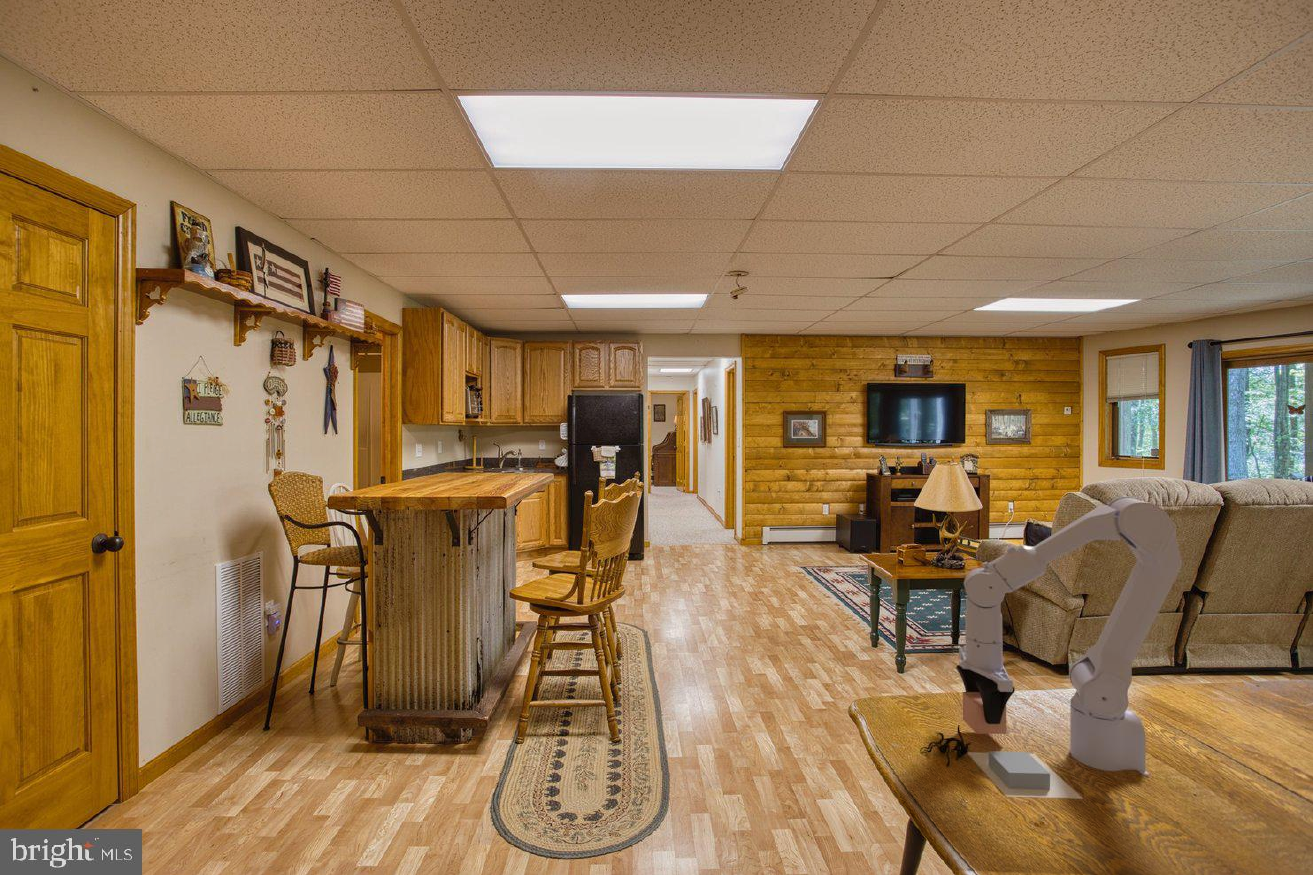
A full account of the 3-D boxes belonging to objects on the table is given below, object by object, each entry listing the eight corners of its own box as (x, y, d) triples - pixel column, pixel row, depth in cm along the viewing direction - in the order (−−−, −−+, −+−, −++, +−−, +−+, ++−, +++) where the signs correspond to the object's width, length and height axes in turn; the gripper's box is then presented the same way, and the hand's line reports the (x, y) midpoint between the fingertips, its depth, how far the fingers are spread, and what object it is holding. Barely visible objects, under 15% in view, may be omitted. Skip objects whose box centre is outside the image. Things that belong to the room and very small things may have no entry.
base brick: (1026, 766, 94) (1026, 751, 94) (1050, 789, 88) (1050, 773, 88) (988, 766, 94) (988, 751, 94) (1009, 788, 88) (1009, 772, 88)
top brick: (991, 719, 106) (990, 692, 106) (1006, 733, 101) (1006, 704, 101) (962, 719, 106) (962, 691, 106) (976, 733, 101) (976, 704, 101)
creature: (927, 778, 95) (980, 772, 93) (919, 744, 95) (972, 738, 93) (915, 752, 102) (964, 746, 101) (908, 721, 103) (956, 715, 101)
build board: (1034, 758, 98) (1034, 753, 98) (1083, 803, 86) (1083, 798, 86) (966, 757, 98) (966, 752, 98) (1006, 801, 87) (1006, 796, 87)
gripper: (942, 624, 111) (943, 696, 111) (981, 653, 97) (982, 735, 97) (980, 625, 111) (981, 696, 111) (1025, 653, 96) (1026, 736, 96)
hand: (984, 715), depth 104 cm, fingers closed on top brick, 5 cm apart
